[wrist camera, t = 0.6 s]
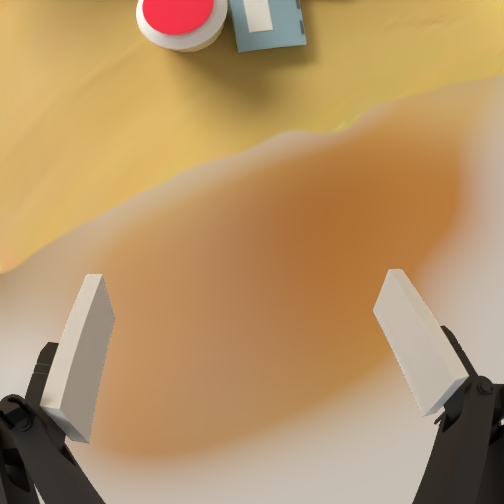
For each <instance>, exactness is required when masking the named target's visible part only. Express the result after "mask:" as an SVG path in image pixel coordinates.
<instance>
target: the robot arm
mask: <svg viewBox="0 0 504 504" xmlns="http://www.w3.org/2000/svg"><path fill="white" fill-rule="evenodd" d="M373 312H374V314H375V316H376V318H377V320H378V322H379V324H380V326H381V328H382V330H383V332H384V334H385V336H386V338H387V340H388V342H389V344H390V346H391V348H392V350H393V352H394V354H395V356H396V359H397V361H398V363H399V365H400V367H401V369H402V371H403V374H404V376H405V378H406V380H407V382H408V384H409V387H410V389H411V391H412V393H413V396H414V398H415V400H416V402H417V405H418V407H419V409H420V412H421V414H422V416H423V417H424V416H428V415H431V414H433V413H436V412H437V411H438V410H439V409H440V408H441V407H442V406H444V408H445V411H444V412H443V413H442V414H441V415H440V416H439V417H438V419H436V420H435V423H434V424H437V423H438V422H439V421H440V420H441V421H440V424H439V429H438V432H437V436H436V439H435V442H434V446H433V449H432V452H431V455H430V458H429V461H428V464H427V467H426V470H425V473H424V475H423V478H422V481H421V483H420V486H419V488H418V491H417V493H416V496H415V498H414V501H413V503H412V504H504V425H501V420H502V419H503V418H504V384H493V383H492V382H491V381H490V380H489V379H488V378H486V377H484V376H478V374H477V373H476V371H475V370H474V368H473V366H472V364H471V363H470V361H469V359H468V358H467V356H466V354H465V352H464V351H463V350H462V348H461V346H460V344H458V341H457V339H456V338H455V336H454V335H453V333H452V332H451V331H450V330H449V329H448V328H446V327H445V326H439V324H438V323H437V321H436V320H435V318H434V316H433V315H432V313H431V312H430V310H429V309H428V307H427V306H426V304H425V303H424V301H423V300H422V298H421V297H420V295H419V294H418V292H417V291H416V289H415V288H414V286H413V285H412V283H411V282H410V281H409V279H408V278H407V276H406V275H405V273H404V272H403V270H402V269H389V270H388V273H387V275H386V278H385V281H384V284H383V286H382V289H381V291H380V294H379V296H378V299H377V302H376V304H375V306H374V309H373ZM114 321H115V317H114V313H113V310H112V307H111V304H110V300H109V296H108V293H107V289H106V286H105V282H104V278H103V275H102V274H87V275H86V277H85V280H84V282H83V284H82V287H81V289H80V291H79V294H78V296H77V298H76V301H75V303H74V306H73V308H72V311H71V313H70V316H69V318H68V321H67V323H66V326H65V329H64V331H63V334H62V337H61V340H60V342H59V343H53V342H48V343H47V344H46V346H45V347H44V348H43V349H42V350H41V352H40V354H39V357H38V360H37V365H36V366H35V368H34V373H33V374H32V377H31V380H30V383H29V386H28V389H27V392H26V396H25V399H24V398H22V397H21V396H19V395H15V394H11V395H9V396H6V397H4V398H3V399H2V400H1V401H0V504H40V502H39V499H38V496H37V492H36V489H35V486H36V488H37V489H38V492H39V493H40V495H41V497H42V499H43V500H44V502H45V504H105V502H104V501H103V500H102V498H101V497H100V496H99V494H98V493H97V491H96V490H95V489H94V487H93V486H92V484H91V483H90V481H89V480H88V478H87V477H86V476H85V474H84V472H83V471H82V469H81V468H80V466H79V465H78V463H77V462H76V460H75V459H74V457H73V455H72V453H71V452H70V450H69V448H68V447H67V445H66V444H65V443H64V441H65V436H66V435H67V436H68V437H69V438H70V439H71V440H72V441H78V442H84V443H89V442H90V436H91V429H92V423H93V417H94V411H95V406H96V400H97V395H98V390H99V385H100V380H101V375H102V371H103V366H104V362H105V358H106V353H107V349H108V345H109V341H110V337H111V333H112V329H113V325H114ZM34 484H35V486H34Z"/></svg>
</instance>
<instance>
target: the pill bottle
mask: <svg viewBox="0 0 504 504" xmlns="http://www.w3.org/2000/svg"><path fill="white" fill-rule="evenodd" d="M226 14H227V0H139V1H138V5H137V9H136V19H137V23H138V26H139V28H140V30H141V32H142V33H143V35H144V36H145V37H146V38H147V39H148V40H149V41H151V42H152V43H154V44H156V45H158V46H160V47H164V48H167V49H171V50H174V51H178V52H194V51H198V50H201V49H203V48H206V47H207V46H209V45H210V44H212V43H213V42H214V41H215V40H216V39H217V38H218V37H219V35H220V34H221V32H222V30H223V28H224V24H225V19H226Z"/></svg>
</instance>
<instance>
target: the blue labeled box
mask: <svg viewBox="0 0 504 504" xmlns="http://www.w3.org/2000/svg"><path fill="white" fill-rule="evenodd" d="M228 2H229V7H230V12H231V17H232V23H233V28H234V33H235V39H236V44H237V49H238V53H241V52H247V51H254V50H262V49H270V48H279V47H289V46H300V45H307V42H306V36H305V30H304V24H303V18H302V12H301V6H300V1H299V0H228Z"/></svg>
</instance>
